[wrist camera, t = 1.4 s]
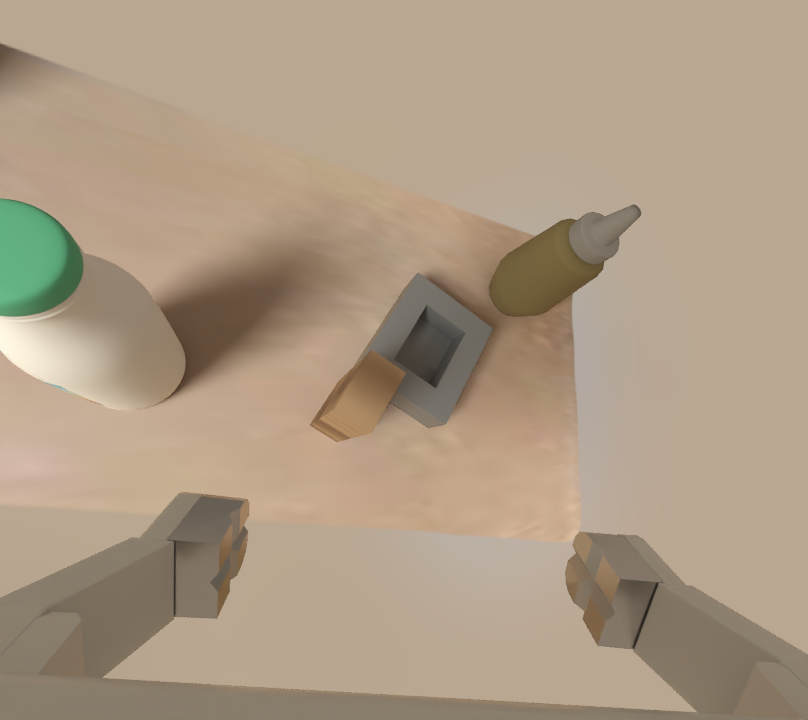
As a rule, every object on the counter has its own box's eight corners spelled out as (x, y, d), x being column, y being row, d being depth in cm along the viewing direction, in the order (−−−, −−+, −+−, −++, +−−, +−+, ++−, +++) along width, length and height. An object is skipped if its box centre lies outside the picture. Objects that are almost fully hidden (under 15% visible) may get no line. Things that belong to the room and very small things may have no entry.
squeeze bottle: (526, 264, 51) (653, 171, 35) (542, 322, 50) (682, 254, 34) (473, 265, 48) (586, 164, 32) (489, 328, 47) (615, 255, 31)
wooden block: (336, 442, 37) (371, 432, 27) (309, 425, 37) (334, 408, 26) (363, 398, 39) (406, 373, 29) (338, 381, 39) (371, 349, 28)
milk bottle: (187, 322, 35) (120, 173, 17) (187, 408, 34) (112, 343, 16) (81, 321, 32) (-132, 142, 14) (75, 415, 31) (-174, 346, 13)
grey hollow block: (428, 428, 41) (445, 424, 37) (348, 374, 39) (358, 365, 36) (474, 339, 46) (493, 328, 42) (404, 288, 44) (418, 272, 40)
